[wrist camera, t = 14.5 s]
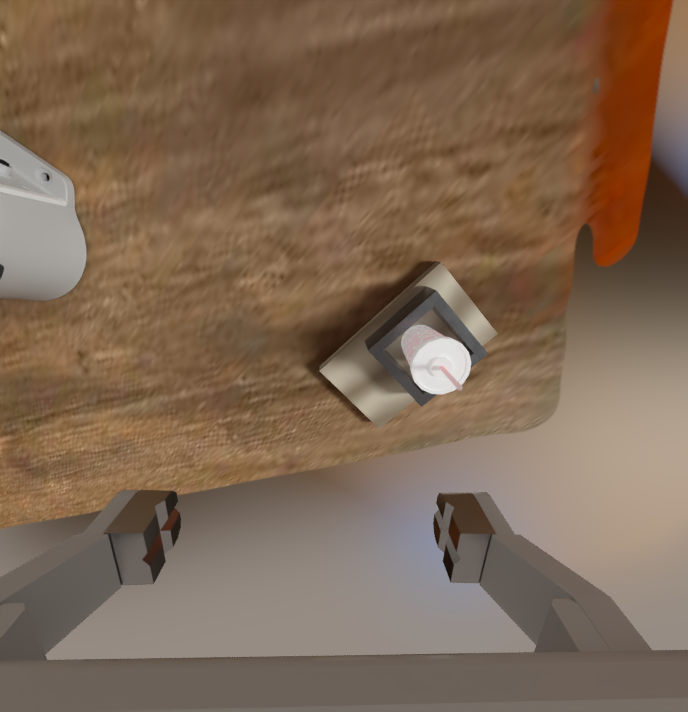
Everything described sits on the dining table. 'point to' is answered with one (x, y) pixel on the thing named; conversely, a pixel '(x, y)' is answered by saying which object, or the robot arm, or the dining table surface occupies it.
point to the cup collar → (404, 321)
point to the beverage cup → (435, 360)
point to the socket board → (397, 348)
